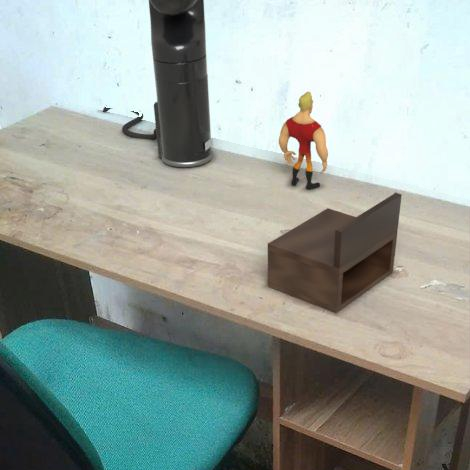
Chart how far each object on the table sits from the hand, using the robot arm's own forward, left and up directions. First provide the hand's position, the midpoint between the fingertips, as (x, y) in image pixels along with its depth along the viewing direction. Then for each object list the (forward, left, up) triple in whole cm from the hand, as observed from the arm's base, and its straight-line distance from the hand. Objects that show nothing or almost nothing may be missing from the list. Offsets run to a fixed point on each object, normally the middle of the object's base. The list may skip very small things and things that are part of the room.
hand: (350, 31), depth 129 cm
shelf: (+23, -36, -21) cm, 47 cm away
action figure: (0, -12, -21) cm, 24 cm away
